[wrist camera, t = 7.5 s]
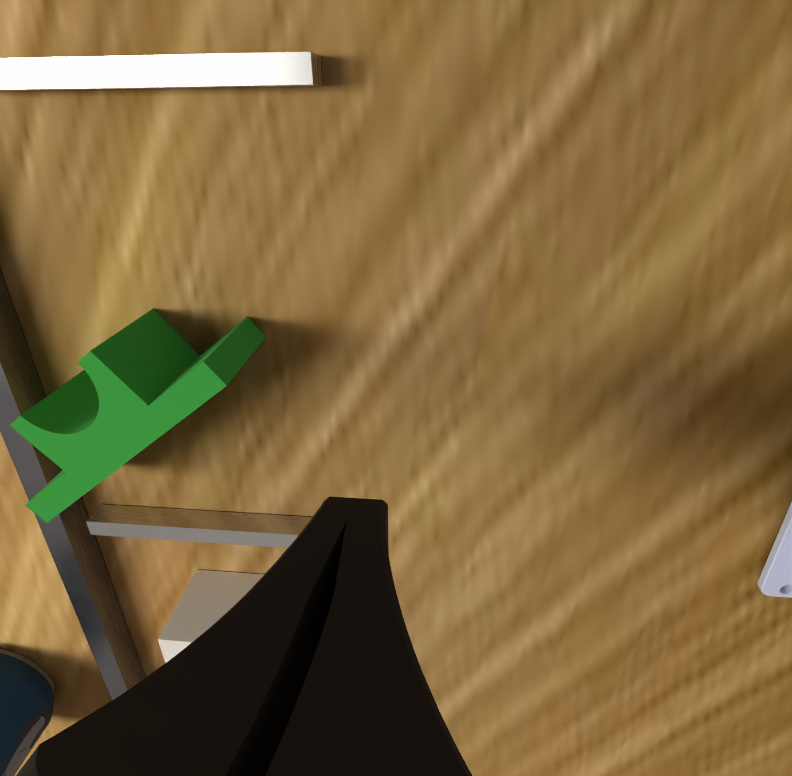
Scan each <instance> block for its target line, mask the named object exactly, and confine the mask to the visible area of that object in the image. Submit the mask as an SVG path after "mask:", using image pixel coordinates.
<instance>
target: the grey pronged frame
mask: <svg viewBox="0 0 792 776" xmlns="http://www.w3.org/2000/svg"><path fill="white" fill-rule="evenodd" d="M294 86H322V75H321V60H320V55H318V54H315V53H313V52H276V53H228V54H181V55H134V56H87V57H39V58H0V91H28V90H95V89H161V88H227V87H294ZM44 398H46V397H45V394H44V391H43V388H42V385H41V383H40V380H39V377H38V374H37V371H36V369H35V366H34V363H33V360H32V357H31V355H30V352H29V349H28V346H27V343H26V341H25V338H24V335H23V332H22V329H21V327H20V324H19V321H18V318H17V315H16V313H15V310H14V307H13V304H12V301H11V298H10V296H9V293H8V290H7V287H6V284H5V282H4V279H3V276H2V273H1V270H0V432H1V434H2V437H3V439H4V441H5V444H6V446H7V449H8V451H9V453H10V456H11V458H12V461H13V463H14V465H15V468H16V470H17V473H18V475H19V477H20V480H21V482H22V485H23V487H24V490H25V492H26V494H27V497H28V499H29V501H30V500H31V499H32V498H33V497H34V496H35V495H36V494H37V493H39V492H40V491H41V490H42V489H43V488H44V487H45V486H46V485H47V484H48V483H49V482H50V481H51V480H53V479H54V478H55V477H56V476H57V475H58V474H59V473H60V472H61V471H62V469H61V468H60V467H59V466H58V465H56V464H55V463H54V462H53V461H52V460H50V459H49V458H48V457H47V456H46V455H44V454H43V453H42V452H41V451H40V450H38V449H37V448H36V447H35V446H34V445H32V444H31V443H30V442H29V441H28V440H26V439H25V438H24V437H23V436H22V435H21V434H19V433H18V432H17V431H16V430H15V429H13V428H12V427H11V426H10V425H11V424H12V423H13V422H14V421H15V420H16V419H17V418H18V417H19V416H20V415H22V414H23V413H25V412H26V411H27V410H29V409H30V408H32V407H33V406H34V405H36V404H37V403H39V402H40V401H41V400H43V399H44ZM34 514H35V513H34ZM35 516H36V518H37V521H38V523H39V526H40V528H41V530H42V533H43V535H44V538H45V540H46V542H47V545H48V547H49V550H50V552H51V554H52V557H53V559H54V562H55V564H56V567H57V569H58V571H59V574H60V576H61V579H62V581H63V583H64V586H65V588H66V591H67V593H68V595H69V598H70V600H71V603H72V605H73V607H74V610H75V612H76V615H77V617H78V619H79V622H80V624H81V627H82V629H83V632H84V634H85V636H86V639H87V641H88V644H89V646H90V648H91V651H92V653H93V656H94V658H95V660H96V663H97V665H98V668H99V670H100V672H101V675H102V677H103V680H104V682H105V684H106V687H107V689H108V692H109V694H110V697H111V699H112V700H114V699H115V698H117V697H118V696H120V695H121V694H123V693H124V692H126V691H127V690H128V689H130V688H131V687H133V686H134V685H136V684H137V683H138V682H140V681H141V680H143V679H144V678H145V674H144V671H143V669H142V666H141V663H140V660H139V657H138V655H137V652H136V649H135V646H134V643H133V640H132V638H131V635H130V632H129V629H128V626H127V624H126V621H125V618H124V615H123V612H122V610H121V607H120V604H119V601H118V598H117V596H116V593H115V590H114V587H113V584H112V582H111V579H110V576H109V573H108V570H107V568H106V565H105V562H104V559H103V556H102V554H101V551H100V548H99V545H98V542H97V540H96V537H95V535H102V536H117V537H132V538H147V539H162V540H177V541H192V542H207V543H222V544H238V545H253V546H268V547H283V548H288V547H289V546H290V545H291V544H292V543H293V541H294V540H295V539H296V538H297V537H298V535H299V534H300V533H301V532H302V530H303V529H304V528H305V527H306V525H307V524H308V523H309V521H310V520H311V519H312V517H303V516H286V515H270V514H253V513H237V512H220V511H204V510H188V509H171V508H155V507H138V506H122V505H105V504H101V505H100V506H99V507H98V509H97V510H96V511H95V512H94V513H93V514H92V515H91V516H90V517H88V514H87V512H86V509H85V506H84V503H83V500H82V498H81V497H80V498H79V499H78V500H76V501H75V502H74V503H72V504H71V505H70V506H69V507H67V508H66V509H65V510H63V511H62V512H61V513H59V514H58V515H57V516H55V517H54V518H53V519H51V520H50V521H49V522H48V523H47V522H46V521H44V520H43V519H42V518H40V517H39V516H38V515H37V514H35Z"/></svg>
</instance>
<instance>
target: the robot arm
mask: <svg viewBox="0 0 792 776" xmlns="http://www.w3.org/2000/svg"><path fill="white" fill-rule="evenodd" d="M758 587H759V588H760V590H761V591H762V593H763V594H765V595H768V596H776V597H791V598H792V502H791V505H790V507H789V509H788V512H787V514H786V516H785V519H784V521H783V524H782V526H781V528H780V531H779V533H778V535H777V538H776V540H775V542H774V545H773V547H772V550H771V552H770V554H769V557H768V559H767V561H766V564H765V566H764V568H763V571H762V573H761V576H760V578H759V580H758ZM16 776H472V774H471V773H470V771H469V769H468V767H467V765H466V763H465V761H464V760H463V758H462V756H461V754H460V752H459V750H458V748H457V746H456V744H455V742H454V740H453V738H452V736H451V734H450V732H449V730H448V728H447V726H446V724H445V722H444V720H443V718H442V716H441V714H440V712H439V709H438V707H437V705H436V702H435V700H434V698H433V695H432V693H431V691H430V689H429V686H428V684H427V682H426V679H425V677H424V675H423V672H422V670H421V667H420V665H419V662H418V659H417V657H416V654H415V651H414V649H413V646H412V643H411V640H410V637H409V634H408V631H407V629H406V625H405V622H404V619H403V616H402V612H401V609H400V605H399V601H398V598H397V594H396V590H395V586H394V582H393V577H392V572H391V567H390V561H389V555H388V504H387V503H386V502H384V501H383V500H375V499H359V498H343V497H328V498H327V499H326V500H325V501H324V502H323V504H322V505H321V507H320V508H319V509H318V511H317V512H316V513H315V515H314V516H313V517H312V519H311V520H310V521H309V523H308V524H307V525H306V527H305V528H304V529H303V530H302V532H301V533H300V534H299V535H298V537H297V538H296V539H295V540H294V541H293V543H292V544H291V545H290V546H289V547H288V549H287V550H286V551H285V552H284V553H283V554H282V556H281V557H280V558H279V559H278V560H277V561H276V563H275V564H274V565H273V566H272V567H271V568H270V569H269V570H268V571H267V572H266V573H265V574H264V576H263V577H262V578H261V579H260V580H259V581H258V582H257V583H256V584H255V585H254V586H253V587H252V588H251V589H250V590H249V591H248V592H247V593H246V594H245V595H244V596H243V597H242V598H241V599H240V600H239V601H238V602H237V603H236V604H235V605H234V606H233V607H232V608H231V609H230V610H229V611H228V612H227V613H225V614H224V615H223V616H222V617H221V618H220V619H219V620H218V621H217V622H215V623H214V624H213V625H212V626H211V627H210V628H209V629H207V630H206V631H205V632H204V633H203V634H201V635H200V636H199V637H198V638H197V639H195V640H194V641H193V642H192V643H191V644H189V645H188V646H187V647H186V648H184V649H183V650H182V651H181V652H179V653H178V654H177V655H176V656H174V657H173V658H172V659H170V660H169V661H168V662H166V663H165V664H164V665H162V666H161V667H160V668H158V669H157V670H155V671H154V672H153V673H151V674H150V675H148V676H147V677H145V678H144V679H143V680H141V681H140V682H138V683H137V684H136V685H134V686H133V687H131V688H130V689H128V690H127V691H126V692H124V693H123V694H121V695H120V696H118V697H117V698H115V699H114V700H112V701H111V702H109V703H108V704H106V705H105V706H103V707H101V708H100V709H98V710H97V711H95V712H93V713H92V714H90V715H88V716H87V717H85V718H83V719H82V720H80V721H78V722H77V723H75V724H73V725H72V726H70V727H68V728H67V729H65V730H63V731H62V732H60V733H58V734H57V735H55V736H53V737H51V738H50V739H48V740H46V741H44V742H43V743H41V744H40V745H39V746H38V747H37V749H36V750H35V751H34V753H33V754H32V755H31V757H30V758H29V759H28V761H27V762H26V763H25V764H24V766H23V767H22V768H21V770H20V771H19V772H18V774H17V775H16Z"/></svg>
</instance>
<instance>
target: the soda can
mask: <svg viewBox="0 0 792 776" xmlns="http://www.w3.org/2000/svg"><path fill="white" fill-rule="evenodd" d="M54 691H55V688H54V684H53V682H52V680H51V678H50V677H49V675H48V674H47V673H46V672H45V671H44V670H43V669H42V668H41V667H40V666H38V665H37V664H36V663H34V662H33V661H31V660H29V659H28V658H26V657H24V656H22V655H19V654H17V653H14V652H11V651H8V650H4V649H0V776H14V775H15V774H16V772H17V771H18V769H19V767H20V766H21V764H22V763H23V761H24V760H25V758H26V757H27V755H28V754H29V752H30V751H31V749H32V748H33V746H34V745H35V743H36V742H37V740H38V739H39V737H40V736H41V734H42V733H43V731H44V730H45V728H46V727H47V725H48V724H49V722H50V720H51V717H52V712H53V703H54Z"/></svg>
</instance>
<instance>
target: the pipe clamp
mask: <svg viewBox="0 0 792 776" xmlns="http://www.w3.org/2000/svg"><path fill="white" fill-rule="evenodd" d="M265 338H266V336H265V335H264V334H263V333H262V332H261V331H260V330H259V329H258V328H257V327H256V325H255V324H254V323H253V322H252V321H251V320H250V319H249V318H248V317H246V318H245V319H244V320H243V321H241V322H240V323H239V324H238V325H237V326H235V327H234V328H233V329H232V330H230V331H229V332H228V333H227V334H225V335H224V336H223V337H222V338H221V339H219V340H218V341H217V342H216V343H214V344H213V345H212V346H211V347H210V348H208V349H207V350H206V351H205V352H203V353H202V354H201V355H199V354H198V353H197V352H196V351H195V350H194V349H193V348H192V347H191V346H190V345H189V344H188V343H187V342H186V341H185V340H184V339H183V338H182V337H181V336H180V335H179V334H178V333H177V332H176V331H175V330H174V329H173V328H172V327H171V326H170V325H169V324H168V323H167V322H166V321H165V320H164V319H163V317H162V316H161V315H160V314H159V313H158V312H157V311H156V310H155V309H154V308H153V309H152V310H150V311H149V312H148V313H146V314H145V315H143V316H142V317H140V318H139V319H137V320H136V321H134V322H133V323H131V324H130V325H128V326H127V327H125V328H124V329H122V330H121V331H119V332H118V333H116V334H115V335H113V336H112V337H110V338H109V339H107V340H106V341H104V342H103V343H101V344H100V345H98V346H97V347H96V348H94V349H93V350H91V351H90V352H89V353H88V354H86V355H85V356H84V357H83V358H82V359H81V360H80V361H79V362H78V364H79V365H80V366H81V367H82V368H83V369H84V370H83V371H82V372H81V373H79V374H78V375H76V376H75V377H74V378H72V379H71V380H69V381H68V382H67V383H65V384H64V385H62V386H61V387H60V388H58V389H57V390H55V391H54V392H53V393H51V394H50V395H48V396H47V397H46V398H44V399H43V400H41V401H40V402H39V403H37V404H36V405H34V406H33V407H32V408H30V409H29V410H27V411H26V412H25V413H23V414H22V415H20V416H19V417H18V418H17V419H16V420H15V421H14V422H13V423H12V424H11V425H10V426H11V427H12V428H13V429H15V430H16V431H17V432H18V433H19V434H21V435H22V436H23V437H24V438H25V439H26V440H28V441H29V442H30V443H31V444H32V445H34V446H35V447H36V448H37V449H38V450H40V451H41V452H42V453H43V454H44V455H46V456H47V457H48V458H49V459H50V460H52V461H53V462H54V463H55V464H56V465H58V466H59V467H60V468H61V469H62V471H61V472H60V473H59V474H58V475H57V476H56V477H55V478H54V479H53V480H51V481H50V482H49V483H48V484H47V485H46V486H45V487H44V488H43V489H42V490H41V491H40V492H39V493H37V494H36V495H35V496H34V497H33V498H32V499H31V500H30V501H29V502H28V503H27V504H26V505H25V506H27V507H28V508H29V509H30V510H32V511H33V512H34V513H35V514H37V515H38V516H39V517H40V518H42V519H43V520H44V521H46V522H47V523H48V522H49V521H50V520H51V519H53V518H54V517H55V516H57V515H58V514H59V513H61V512H62V511H63V510H65V509H66V508H67V507H69V506H70V505H71V504H72V503H74V502H75V501H76V500H78V499H79V498H80V497H82V496H83V495H84V494H86V493H87V492H88V491H90V490H91V489H92V488H93V487H95V486H96V485H97V484H99V483H100V482H101V481H103V480H104V479H105V478H107V477H108V476H109V475H111V474H112V473H113V472H114V471H116V470H117V469H118V468H120V467H121V466H122V465H124V464H125V463H126V462H128V461H129V460H130V459H131V458H133V457H134V456H135V455H137V454H138V453H139V452H141V451H142V450H143V449H145V448H146V447H147V446H149V445H150V444H151V443H152V442H154V441H155V440H156V439H158V438H159V437H160V436H162V435H163V434H164V433H166V432H167V431H168V430H170V429H171V428H172V427H173V426H175V425H176V424H177V423H179V422H180V421H181V420H183V419H184V418H185V417H187V416H188V415H189V414H191V413H192V412H193V411H194V410H196V409H197V408H198V407H200V406H201V405H202V404H204V403H205V402H206V401H208V400H209V399H210V398H211V397H213V396H214V395H215V394H217V393H218V392H219V391H221V390H222V389H223V388H225V387H226V386H227V385H228V384H229V383H230V381H231V380H232V379H233V378H234V376H235V375H236V374H237V373H238V372H239V370H240V369H241V368H242V367H243V365H244V364H245V363H246V362H247V360H248V359H249V358H250V357H251V356H252V354H253V353H254V352H255V351H256V349H257V348H258V347H259V346H260V345H261V343H262V342H263V341H264V340H265Z"/></svg>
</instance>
